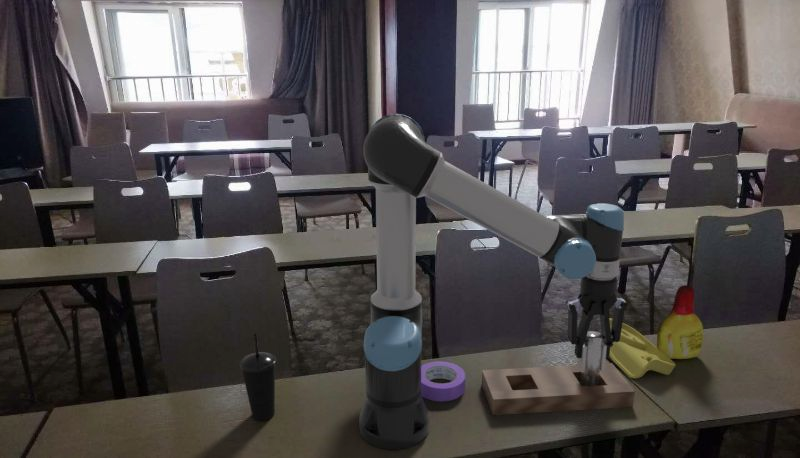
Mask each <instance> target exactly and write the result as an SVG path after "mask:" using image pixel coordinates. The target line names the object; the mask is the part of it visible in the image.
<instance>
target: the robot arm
mask: <svg viewBox="0 0 800 458" xmlns="http://www.w3.org/2000/svg"><path fill="white" fill-rule="evenodd" d="M425 140H426V139H425V135H424V131H423V129H422V126H421V125H419V123H418V122H417V121H415V119H413V118H411V117H410V116H407V115H405V114H400V113H392V114H387V115H384V116H382V117H380V118H378V119H377V120H376V121H375V122H374V124H372V126H371V128H370V131H368V133H367V135H366V137H365V139H364V141H363V149H362V151H363V153H362V154H363V155H362V156H363V159H364V162H365V164H366V166H367V170H368V172H367V173H368V174H367V175H368V178H367V179H368V182H369V184H371V186H373V187H374V188H375V222H376V223H375V224H376V226H375V228H376V230H375V232H376V291H374V292H373V293H372V294H371V296H370V324H369V325H368V327H367V328H366V330H365V334H364V339H363V342H362V343H363V351H364V353H363V354H364V368H365V369H364V370H365V373H364V374H365V392H366V393H365V394H366V395H365V398H364V402H363V405H362V408H361V411H360V414H359V419H358V421H359V422H358V423H359V424H358V427H359V428H358V429H359V433H360V435H361V437H362V438H363V440H365V442H367V443H368V444H370V445H372V446H373V447H377V448H380V449H384V450H401V449H403V450H404V449H406V448H410V447H414V446H415V445H417V444H419V443H421V442H422V441H423V440H425V438H426V437H427V435H428V434H429V431H430V414H429V412H428V409H427V406H426V404H425V401H424V399H423V398H424V397H423V396H422V395H421V366H422V348H423V347H422V346H423V338H422V335H423V334H422V332H423V331H422V328H423V312H422V311H423V306H422V305H423V304H422V303H423V298H422V295H421V294H420V292H418V291H417V290H416V255H417V253H416V252H417V251H416V250H417V249H416V246H417V245H416V239H417V238H416V236H417V235H416V233H417V232H416V231H417V230H416V229H417V228H416V227H417V225H416V222H417V208H416V207H417V199H419V198H422V197H426V198H428V199H430V200H432V201H434V202H435V203H437V204H438V205H441V206H443V207H445V208H446V209H448V210H451V211H453V212H454V213H456V214H457V215H459V216H461V217H463V218H465V219H467V220H469V221H471V222H473V223H475V224H477V225H478V226H480V227H482V228H483V229H486V230H487V231H489V232H491V233H493V234H494V235H497V236H499V237H500V238H502V239H504V240H506V241H508V242H510V243H512V244H514V245H515V246H517V247H518V248H521V249H522V250H523V251H524V250H525V251H526V252H527V253H528V252H529V253H530V254H532V255H533V256H536V257H537V258H539V259H541V260H542V261H544V262H546V263H548V264H550V265H552V266H553V267H555V270H557V272H558V273H560V274H561V276H562V277H564V278H566V279H570V280H580V289H579V290H580V292H579V295H578V296H577V298H576V299H574V300H566V301H565V305H566V307H567V310H568V311H567V312H568V313H567V335H566V337H567V340H568V341H569V342H570V344H571V345H574V355H575V357H576V358H577V361H576V363H577V364H576V365H577V367H578V368H579V370H580V371H581V372H585V363H586V352H587V346H586V345H585V344H584V342H585V339H586V336H587V333H588V331H589V329H590V325H591V323H592V321H593V320H594V317H595V316H597V315H599V322H600V330H601V334H602V335H603V343H602V353H601V363H600V371H604V369H605V364H606V359H607V358H606V357H610V356H609V355H610V347H612V346H613V342H619V341H620V336H621V329H622V323H624V315H625V311H626V309H627V308H628V306H629V303H628V302H627V301H626V300H625V299H624V298H623V297H617V295H616V293H617V289H618V288H617V287H618V282H619V281H618V275H619V270H620V261H621V260H620V259H621V250H622V242H623V236H624V231H625V228H624V227H625V226H624V224H625V223H624V222H625V214H624V213H625V212H624V210H623V209H622V208H621V207H620V206H618V205H616V204H611V203H602V202H601V203H594V204H590V205H588V207H587V210H586V212H585V214H548V213H546V214H542V213H540V212H538V211H537V210H534V209H533V208H531V207H529V206H527V205H525V204H524V203H521V201H518V200H517V199H515V198H513V197H511V196H509V195H508V194H505V193H504V192H502V191H500V190H499V189H496V188H495V187H493V186H491V185H489V184H487V183H486V182H484V181H482V180H480V179H478V178H477V177H475V176H473V175H471V174H469V173H468V172H466V171H464V170H462V169H460V168H459V167H457V166H455V165H453V164H451V163H449V162H448V161H447V160H445V157H444V155H443V152H441V151H439V150H438V149H435V148H434V147H433V146H431V145H430V144H428V143H427V142H426V141H425ZM580 306H581V307H582V311H581V317H580V321H579V323H578V311H579V310H580V309H579V307H580ZM613 306H614V308H613ZM612 308H613V313H612V314H613V315H612V319H613V320H612V326H611V330H610V321H609V318H611V315H610V310H611V309H612Z"/></svg>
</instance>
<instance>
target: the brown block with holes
mask: <svg viewBox="0 0 800 458" xmlns="http://www.w3.org/2000/svg"><path fill="white" fill-rule="evenodd" d="M580 379H581V371H580V370H579V368H578V367H577V364H576V365H575V364H573V365H572V364H571V365H554V366H535V367H517V368H515V367H514V368H498V369H497V368H496V369H495V368H494V369H482V370H481V387H482V389H483V392H484V395H485V397H486V400H487V403H488V405H489V408H490V411H491V414H492V415H493V416H499V415H502V416H503V415H515V414H516V415H517V414H531V413H532V414H535V413H549V412H550V413H551V412H552V413H554V412H567V411H571V412H572V411H582V410H583V411H584V410H600V409H602V410H603V409H621V408H633V407H634V402H635V394H636V390H635V389H634V388H633V387H632V386H631V384H629V382H628V381H627V379H626V378H625V377H624V376H623V374H622V373H621V372H620V371H619V370H618V369H617V368H616V366H615V365H614V363H612V362H610V363H605V369H604V371H600V373H599V382H598V386H583V387H582V386H581V385H580Z"/></svg>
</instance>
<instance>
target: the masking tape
mask: <svg viewBox="0 0 800 458" xmlns="http://www.w3.org/2000/svg"><path fill="white" fill-rule="evenodd" d="M436 379H443V380H444V379H445V380H448V381H450V382H445V383H440V382H433V381H432V380H436ZM465 388H466V373H465V371H464V370H463V368H462V367H460V366H458V365H457V364H456V363H452V362H447V361H439V360H438V361H431V362H427V363H424V364H423V365H421V395H422V398H425V399H427V400H430V401H434V402H450V401H452V400H453V401H454V400H456V399H458V398H460V397H461V396H463V395H464V393H465V391H466V389H465Z"/></svg>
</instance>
